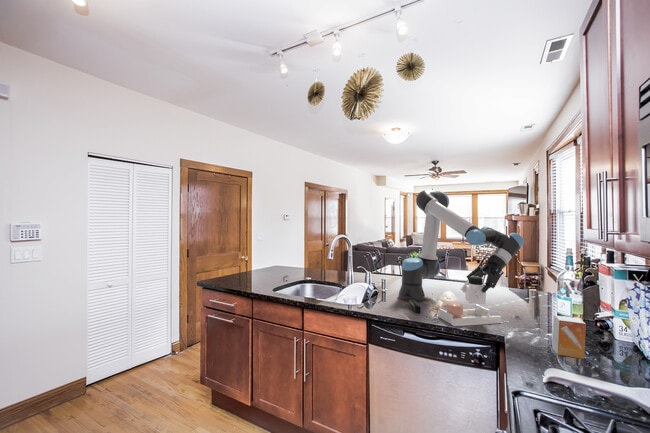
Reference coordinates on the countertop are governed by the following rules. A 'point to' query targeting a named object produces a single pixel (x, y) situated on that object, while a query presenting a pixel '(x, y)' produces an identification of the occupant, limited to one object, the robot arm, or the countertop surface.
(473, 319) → the white tray
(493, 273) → the robot arm
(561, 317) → the small box
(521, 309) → the countertop surface
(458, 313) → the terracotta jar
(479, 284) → the medicine bottle
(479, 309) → the pusher
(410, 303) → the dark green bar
